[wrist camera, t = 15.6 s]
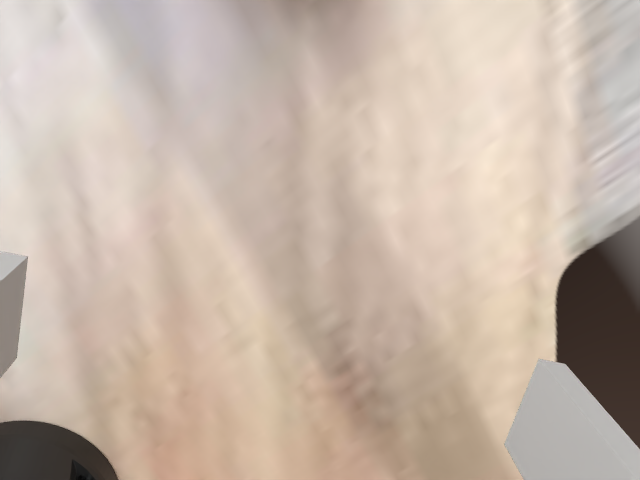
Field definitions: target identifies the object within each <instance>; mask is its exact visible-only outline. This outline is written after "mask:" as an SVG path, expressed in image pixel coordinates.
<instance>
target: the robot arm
mask: <svg viewBox="0 0 640 480" xmlns="http://www.w3.org/2000/svg"><path fill="white" fill-rule="evenodd" d="M27 261H28V257H27V256H22V255H17V254H12V253H7V252H2V251H0V378H1V377H2V376H3V374H4V373H5V372H6V371H7V369H8V368H9V367H10V366H11V364H12V363H13V362H14V361H15V359H16V358H17V350H18V341H19V332H20V323H21V314H22V305H23V297H24V288H25V279H26V270H27ZM504 445H505V447H506V448H507V450H508V452H509V454H510V456H511V457H512V459H513V461H514V463H515V465H516V466H517V468H518V470H519V472H520V474H521V475H522V477H523V479H524V480H640V449H639V448H638V447H637V446H636V445H635V444H634V442H633V441H632V440H631V439H630V438H629V437H628V436H627V434H626V433H625V432H624V431H623V430H622V429H621V427H620V426H619V425H618V424H617V423H616V422H615V421H614V419H613V418H612V417H611V416H610V415H609V414H608V413H607V412H606V410H605V409H604V408H603V407H602V406H601V405H600V404H599V402H598V401H597V400H596V399H595V398H594V397H593V396H592V394H591V393H590V392H589V391H588V390H587V389H586V388H585V386H584V385H583V384H582V383H581V382H580V381H579V379H577V377H576V376H575V375H574V374H573V373H572V371H571V370H570V369H569V368H568V367H567V366H566V365H565V364H562V363H557V362H552V361H547V360H542V359H538V362H537V364H536V367H535V369H534V372H533V374H532V377H531V379H530V382H529V384H528V387H527V389H526V392H525V394H524V397H523V399H522V402H521V404H520V406H519V409H518V411H517V414H516V416H515V419H514V421H513V424H512V426H511V429H510V431H509V434H508V436H507V439H506V441H505V444H504ZM0 480H117V478H116V475H115V473H114V471H113V469H112V467H111V465H110V464H109V462H108V461H107V459H106V458H105V457H104V456H103V455H102V453H101V452H100V451H99V450H98V449H97V448H95V447H94V446H93V445H92V444H91V443H89V442H88V441H87V440H85V439H84V438H82V437H80V436H79V435H77V434H75V433H73V432H71V431H69V430H66V429H64V428H61V427H58V426H55V425H51V424H47V423H42V422H34V421H12V422H4V423H0Z"/></svg>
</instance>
